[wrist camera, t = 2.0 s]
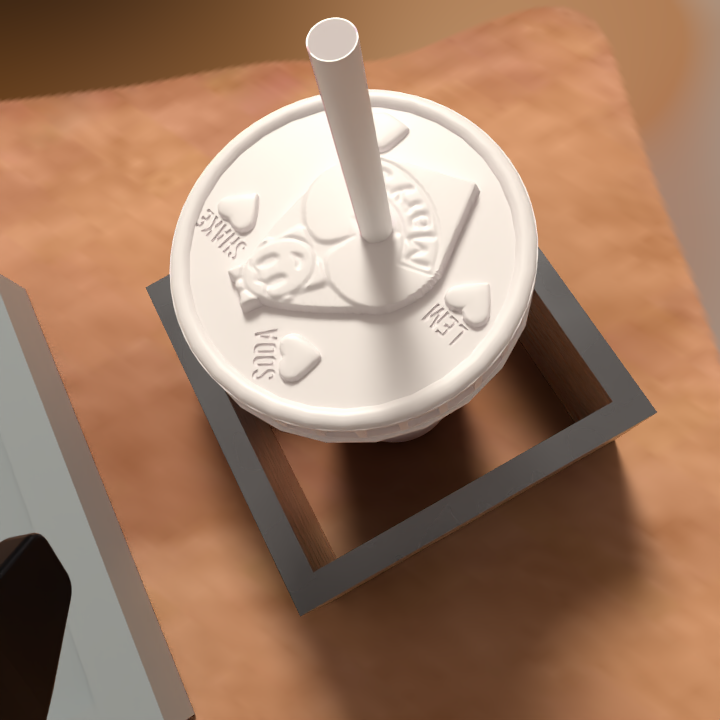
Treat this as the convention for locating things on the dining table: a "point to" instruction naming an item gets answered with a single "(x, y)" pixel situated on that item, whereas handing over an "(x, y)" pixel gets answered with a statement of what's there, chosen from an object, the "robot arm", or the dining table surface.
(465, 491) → the cup holder
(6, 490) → the tray
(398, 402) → the smoothie
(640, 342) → the dining table surface
